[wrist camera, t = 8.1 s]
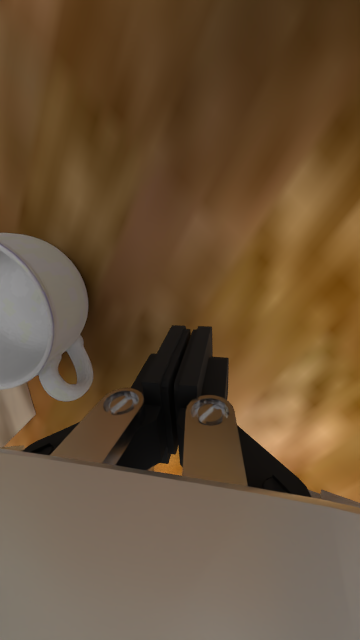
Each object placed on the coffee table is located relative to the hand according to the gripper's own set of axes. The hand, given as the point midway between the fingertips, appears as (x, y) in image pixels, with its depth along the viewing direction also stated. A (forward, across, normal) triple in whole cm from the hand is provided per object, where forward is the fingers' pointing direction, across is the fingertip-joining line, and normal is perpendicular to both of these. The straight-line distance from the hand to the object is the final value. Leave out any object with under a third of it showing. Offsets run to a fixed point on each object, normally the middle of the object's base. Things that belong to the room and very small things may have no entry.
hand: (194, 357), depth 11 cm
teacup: (+11, +14, +2) cm, 18 cm away
